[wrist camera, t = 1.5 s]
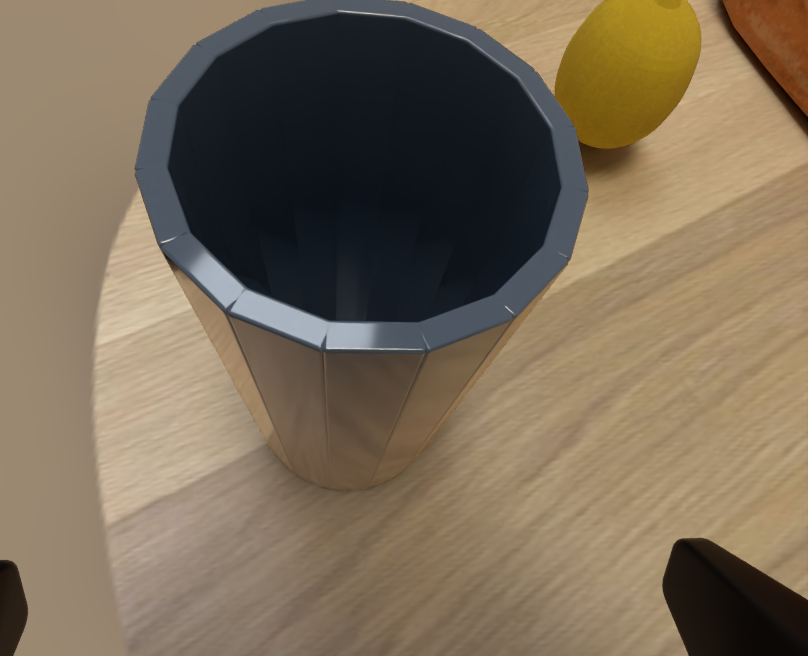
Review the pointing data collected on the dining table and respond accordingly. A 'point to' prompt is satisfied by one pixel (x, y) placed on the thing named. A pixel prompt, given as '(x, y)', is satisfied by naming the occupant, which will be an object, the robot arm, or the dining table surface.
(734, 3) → the bread
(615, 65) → the lemon
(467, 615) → the dining table surface
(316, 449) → the tumbler
